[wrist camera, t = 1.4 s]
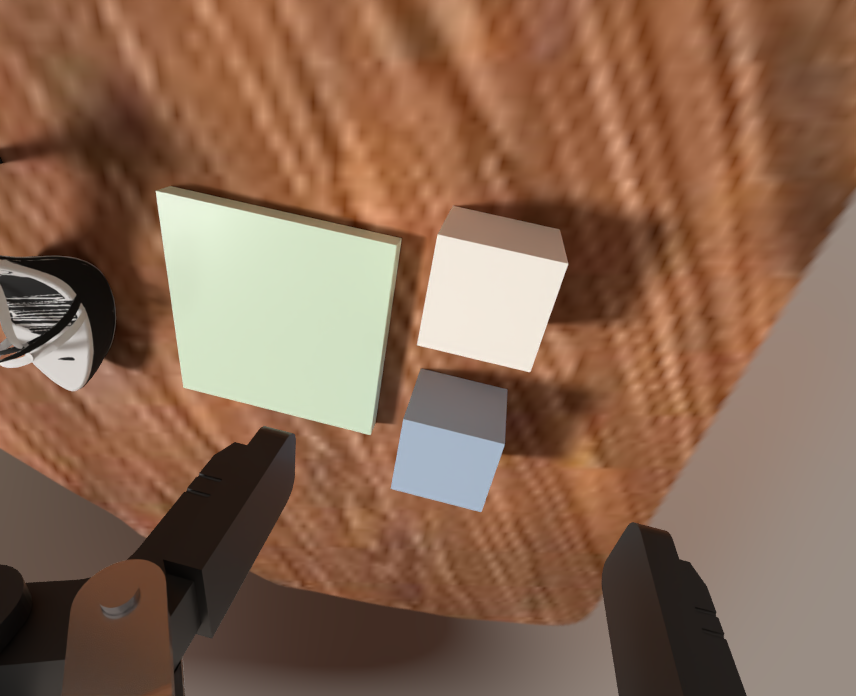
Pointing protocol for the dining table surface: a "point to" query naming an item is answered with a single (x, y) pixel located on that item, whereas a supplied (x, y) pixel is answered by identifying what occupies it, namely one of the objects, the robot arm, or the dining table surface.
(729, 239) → the dining table surface
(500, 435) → the brick top
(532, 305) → the white cube
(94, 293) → the sandal
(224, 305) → the base plate
